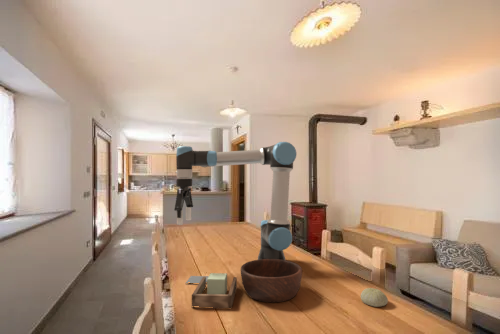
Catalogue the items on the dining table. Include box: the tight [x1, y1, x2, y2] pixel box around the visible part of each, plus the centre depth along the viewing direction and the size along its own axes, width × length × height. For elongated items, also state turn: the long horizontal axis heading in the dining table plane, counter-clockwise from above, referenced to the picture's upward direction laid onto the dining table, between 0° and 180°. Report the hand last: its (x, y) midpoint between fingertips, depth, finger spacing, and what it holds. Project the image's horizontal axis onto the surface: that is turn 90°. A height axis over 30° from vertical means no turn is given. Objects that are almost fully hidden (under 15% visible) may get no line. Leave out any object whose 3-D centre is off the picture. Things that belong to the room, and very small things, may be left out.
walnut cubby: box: [191, 276, 238, 309], centre depth 113 cm, size 14×19×4 cm
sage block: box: [206, 272, 228, 294], centre depth 117 cm, size 7×7×7 cm
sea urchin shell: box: [360, 287, 389, 308], centre depth 108 cm, size 9×8×8 cm
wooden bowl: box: [240, 259, 303, 303], centre depth 118 cm, size 25×25×10 cm
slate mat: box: [185, 275, 209, 284], centre depth 131 cm, size 9×9×1 cm
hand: (184, 222), depth 139 cm, fingers open, 13 cm apart
